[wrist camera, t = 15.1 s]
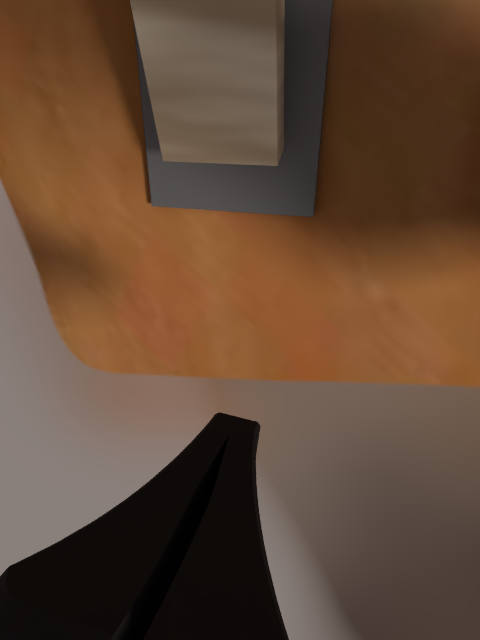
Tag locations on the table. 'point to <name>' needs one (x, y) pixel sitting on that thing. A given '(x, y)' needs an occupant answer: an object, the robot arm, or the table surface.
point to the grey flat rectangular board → (299, 135)
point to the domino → (215, 78)
